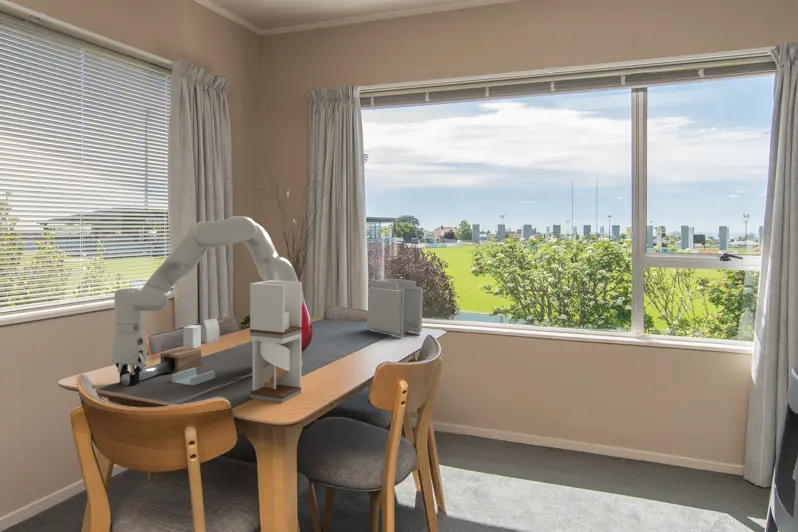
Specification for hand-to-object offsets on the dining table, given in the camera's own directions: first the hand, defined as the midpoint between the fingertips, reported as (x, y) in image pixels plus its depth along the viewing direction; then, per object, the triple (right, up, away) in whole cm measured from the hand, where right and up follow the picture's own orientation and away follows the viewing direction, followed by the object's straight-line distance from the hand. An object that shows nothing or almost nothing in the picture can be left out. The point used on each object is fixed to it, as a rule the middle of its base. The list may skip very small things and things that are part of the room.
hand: (129, 384), depth 176 cm
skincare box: (+4, +2, +43) cm, 44 cm away
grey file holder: (+83, +4, +99) cm, 129 cm away
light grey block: (+1, +4, +71) cm, 71 cm away
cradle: (+18, -1, +6) cm, 19 cm away
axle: (+3, +1, +6) cm, 7 cm away
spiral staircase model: (+47, -3, -4) cm, 48 cm away
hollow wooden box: (+8, 0, +20) cm, 22 cm away
